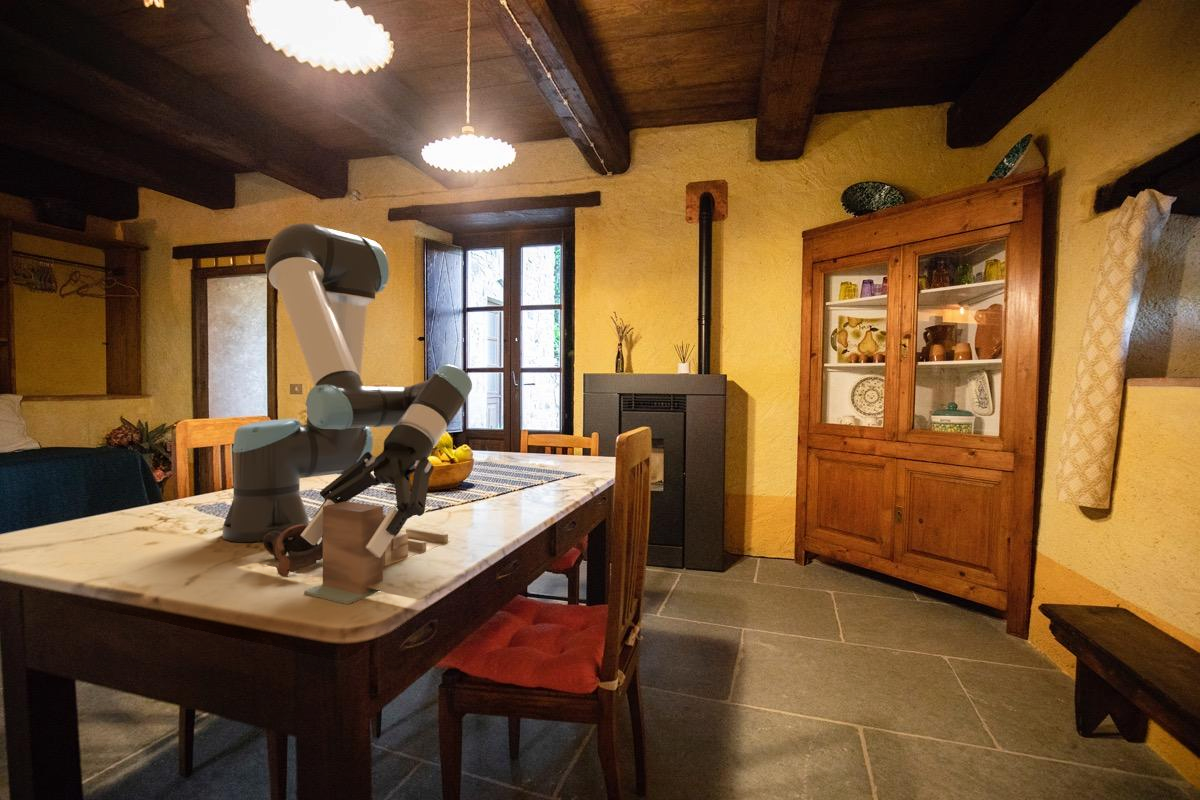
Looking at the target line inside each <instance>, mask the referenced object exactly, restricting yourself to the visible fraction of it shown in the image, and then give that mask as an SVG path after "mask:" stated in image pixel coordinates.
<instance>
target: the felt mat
mask: <svg viewBox="0 0 1200 800" xmlns="http://www.w3.org/2000/svg"><path fill="white" fill-rule="evenodd" d="M372 589H373V590H370V591H368V592H366V593H363V594H361V595H360V594H356V593H352V592H348V591H344V590H339V589H335V588H331V587H327V586H323V583H322V584H318V585H317V586H314V587H312V588H308V589H305V590H304V595H309V596H313V597H317V598H321V599H325V600H327V601H328V600H329V601H332V602H337V603H341V604H344V605H351V604H353V603H355V602H358V601H359V600H362V599H365V598H367V597H369V596H371V595H374V594H376V593H379V592H381V589H380V590H379V589H376V588H372ZM378 591H379V592H378ZM366 596H367V597H366ZM364 597H365V598H364ZM357 600H358V601H357ZM352 602H353V603H352ZM350 603H351V604H350Z"/></svg>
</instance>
